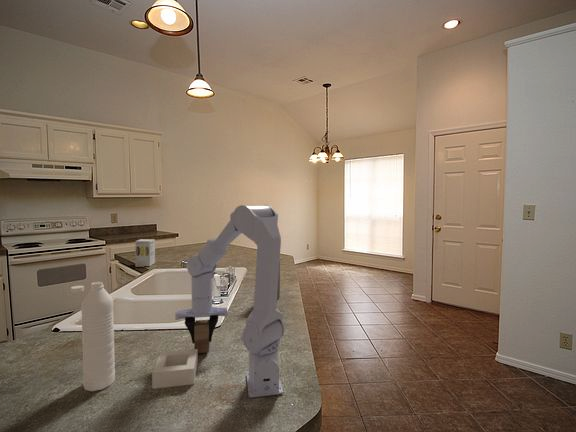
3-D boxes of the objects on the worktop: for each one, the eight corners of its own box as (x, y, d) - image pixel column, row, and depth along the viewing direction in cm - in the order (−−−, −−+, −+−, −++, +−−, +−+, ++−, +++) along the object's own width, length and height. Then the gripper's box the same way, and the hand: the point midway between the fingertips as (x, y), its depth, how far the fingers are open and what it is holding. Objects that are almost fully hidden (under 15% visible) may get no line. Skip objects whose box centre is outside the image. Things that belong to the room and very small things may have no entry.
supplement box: (134, 267, 190) (134, 241, 189) (140, 263, 199) (140, 238, 198) (150, 266, 191) (150, 241, 190) (155, 263, 200) (155, 239, 199)
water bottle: (105, 372, 77) (103, 277, 75) (120, 380, 73) (118, 281, 72) (67, 391, 69) (63, 286, 68) (81, 401, 66) (78, 290, 64)
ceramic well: (194, 384, 72) (194, 368, 72) (152, 388, 70) (152, 372, 70) (197, 362, 82) (197, 348, 81) (160, 366, 80) (160, 352, 79)
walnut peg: (208, 351, 86) (208, 324, 85) (194, 353, 85) (194, 326, 84) (209, 345, 90) (209, 319, 89) (195, 346, 89) (195, 320, 88)
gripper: (227, 290, 92) (227, 332, 93) (177, 292, 89) (178, 336, 90) (227, 297, 85) (227, 343, 86) (173, 300, 82) (174, 348, 83)
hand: (202, 341), depth 87 cm, fingers closed on walnut peg, 4 cm apart
